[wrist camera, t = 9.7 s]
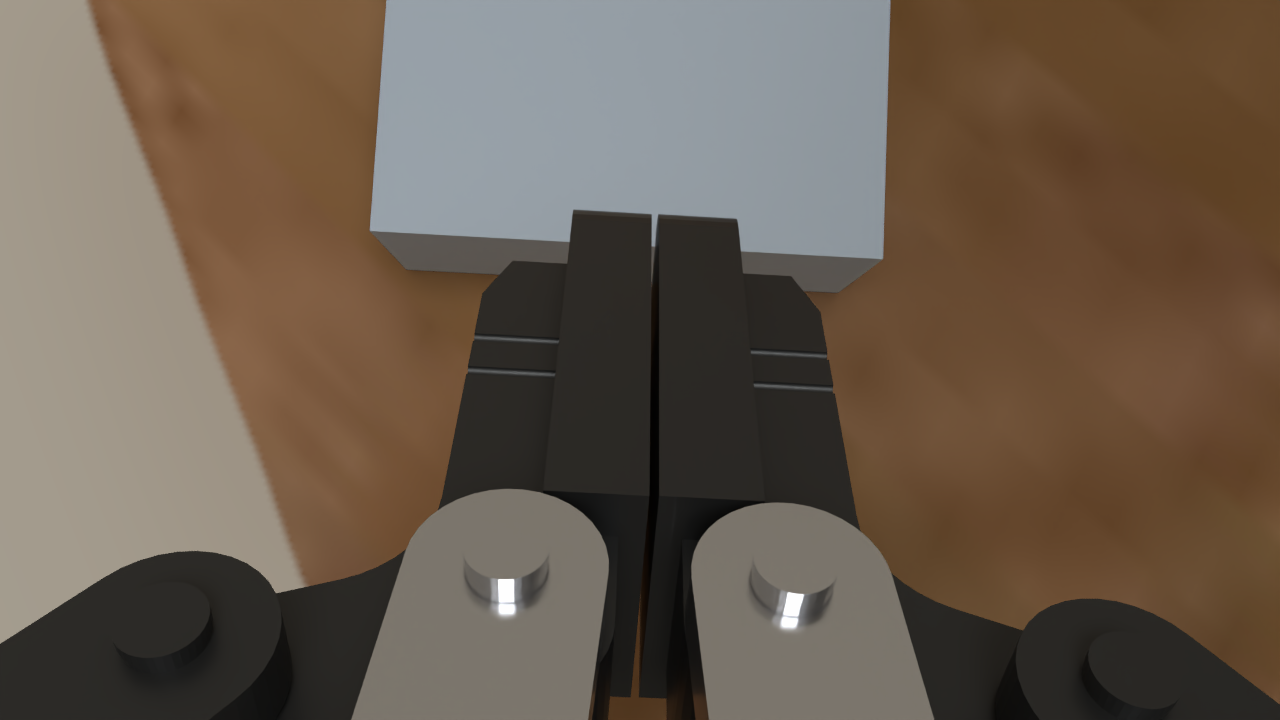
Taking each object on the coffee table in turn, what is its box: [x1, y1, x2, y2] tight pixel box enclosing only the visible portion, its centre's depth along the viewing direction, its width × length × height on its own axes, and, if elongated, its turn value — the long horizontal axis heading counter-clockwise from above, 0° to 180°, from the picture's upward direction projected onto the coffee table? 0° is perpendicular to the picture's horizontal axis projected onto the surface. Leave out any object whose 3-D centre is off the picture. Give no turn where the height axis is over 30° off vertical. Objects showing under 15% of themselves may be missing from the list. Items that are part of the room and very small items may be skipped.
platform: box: [370, 0, 890, 293], centre depth 35 cm, size 14×14×6 cm
